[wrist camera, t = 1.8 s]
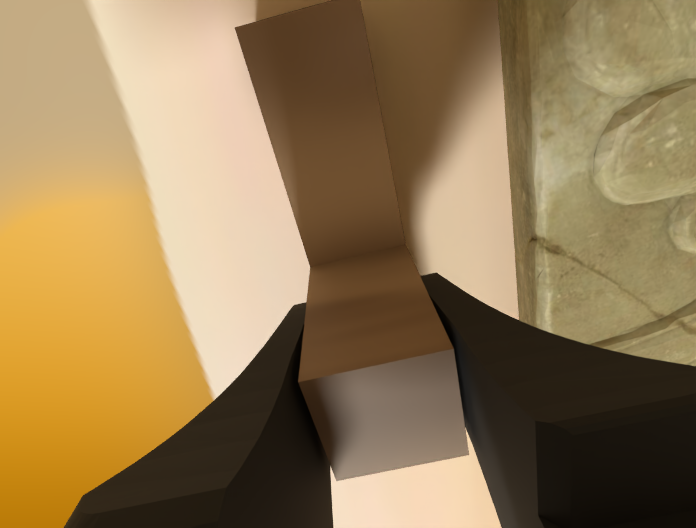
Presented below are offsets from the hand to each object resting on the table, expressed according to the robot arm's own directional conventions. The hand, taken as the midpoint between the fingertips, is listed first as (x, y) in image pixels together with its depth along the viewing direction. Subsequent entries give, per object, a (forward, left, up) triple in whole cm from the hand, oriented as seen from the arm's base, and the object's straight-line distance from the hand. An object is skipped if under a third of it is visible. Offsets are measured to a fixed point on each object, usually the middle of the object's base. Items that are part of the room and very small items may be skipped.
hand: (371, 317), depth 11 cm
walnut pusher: (0, 0, -4) cm, 4 cm away
